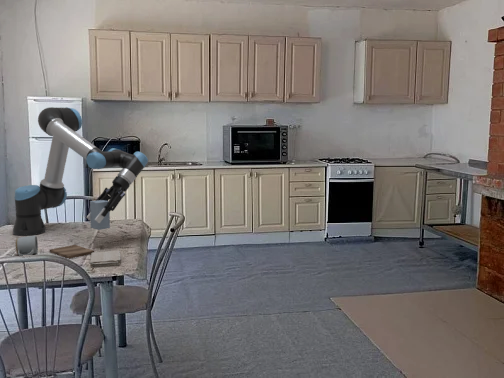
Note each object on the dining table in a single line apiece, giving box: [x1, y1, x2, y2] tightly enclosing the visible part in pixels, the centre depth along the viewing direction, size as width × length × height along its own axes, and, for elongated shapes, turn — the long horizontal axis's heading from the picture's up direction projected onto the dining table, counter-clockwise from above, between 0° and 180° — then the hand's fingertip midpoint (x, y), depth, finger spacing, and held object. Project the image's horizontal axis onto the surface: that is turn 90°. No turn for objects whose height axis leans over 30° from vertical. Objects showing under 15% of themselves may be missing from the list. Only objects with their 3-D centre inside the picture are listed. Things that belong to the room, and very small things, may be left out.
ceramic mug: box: [15, 235, 39, 257], centre depth 222 cm, size 11×8×8 cm
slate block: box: [89, 199, 111, 231], centre depth 233 cm, size 6×6×12 cm
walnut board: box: [48, 244, 95, 260], centre depth 225 cm, size 16×12×1 cm
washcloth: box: [89, 250, 121, 268], centre depth 213 cm, size 12×18×3 cm, turn 16°
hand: (92, 220), depth 231 cm, fingers closed on slate block, 6 cm apart
